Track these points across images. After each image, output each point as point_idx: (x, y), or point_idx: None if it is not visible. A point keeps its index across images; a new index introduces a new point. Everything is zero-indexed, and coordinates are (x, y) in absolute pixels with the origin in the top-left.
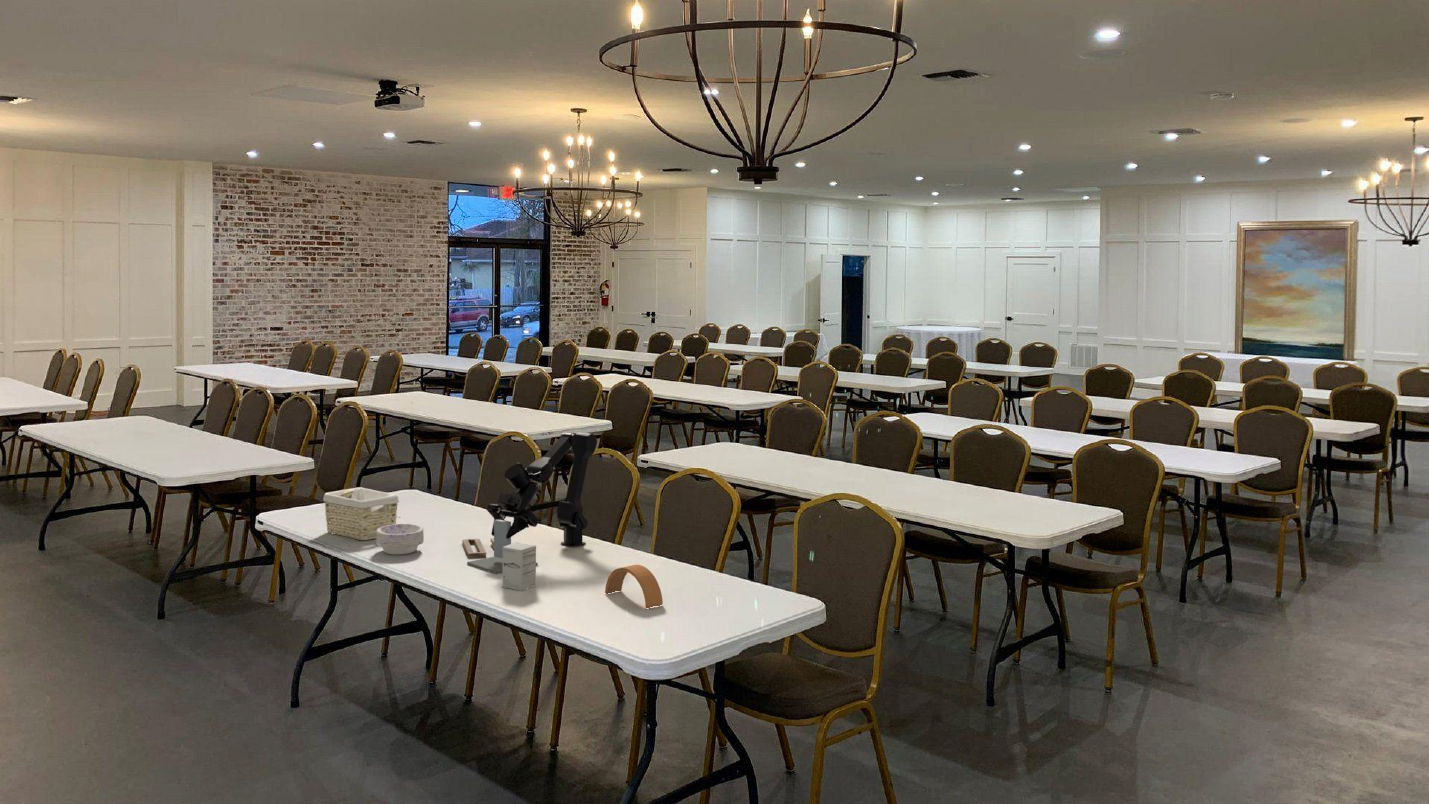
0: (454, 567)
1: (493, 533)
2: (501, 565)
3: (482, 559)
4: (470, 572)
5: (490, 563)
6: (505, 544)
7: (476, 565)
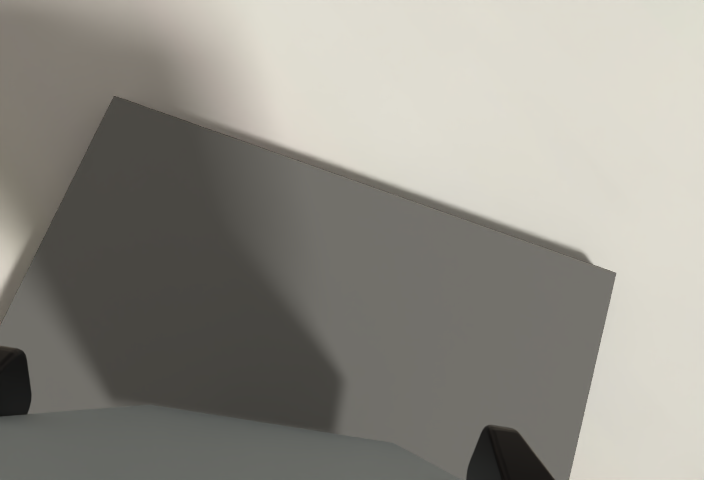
0: (626, 137)
1: (484, 474)
2: (203, 327)
3: (553, 445)
4: (386, 63)
5: (363, 339)
6: (134, 417)
7: (452, 216)
